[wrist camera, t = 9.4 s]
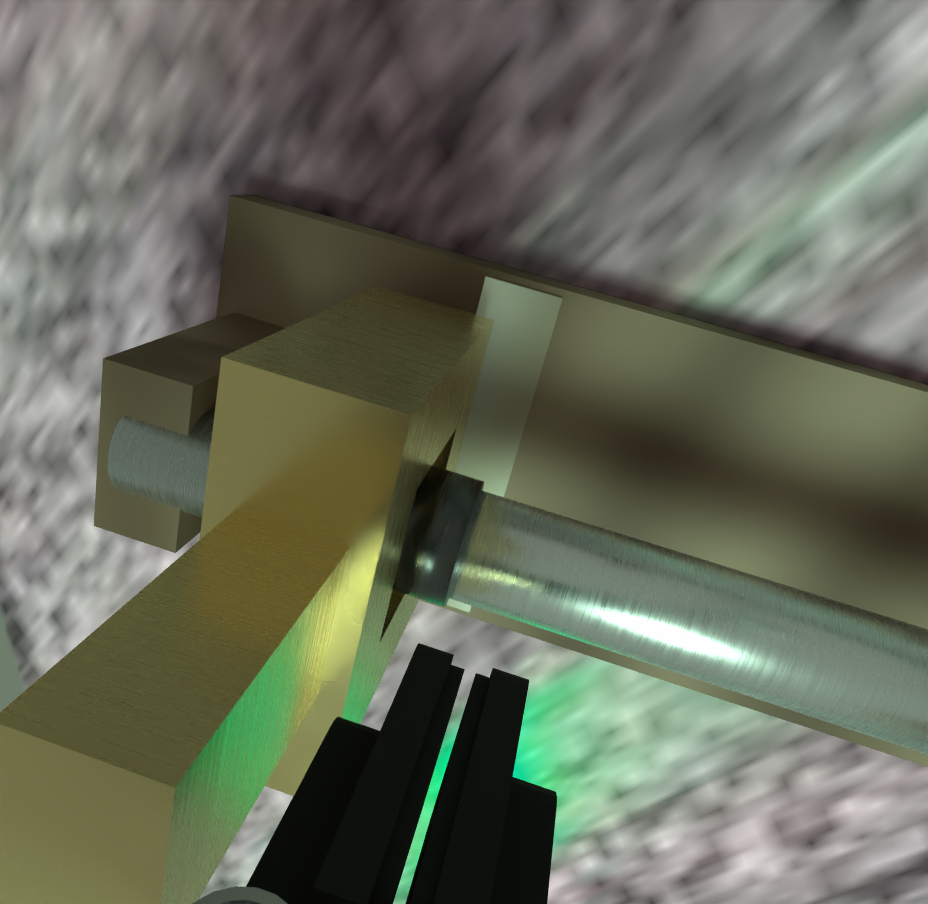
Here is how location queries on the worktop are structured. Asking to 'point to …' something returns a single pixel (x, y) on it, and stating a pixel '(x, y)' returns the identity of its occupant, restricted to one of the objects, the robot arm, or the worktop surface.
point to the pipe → (612, 593)
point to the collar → (242, 612)
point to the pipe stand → (590, 422)
